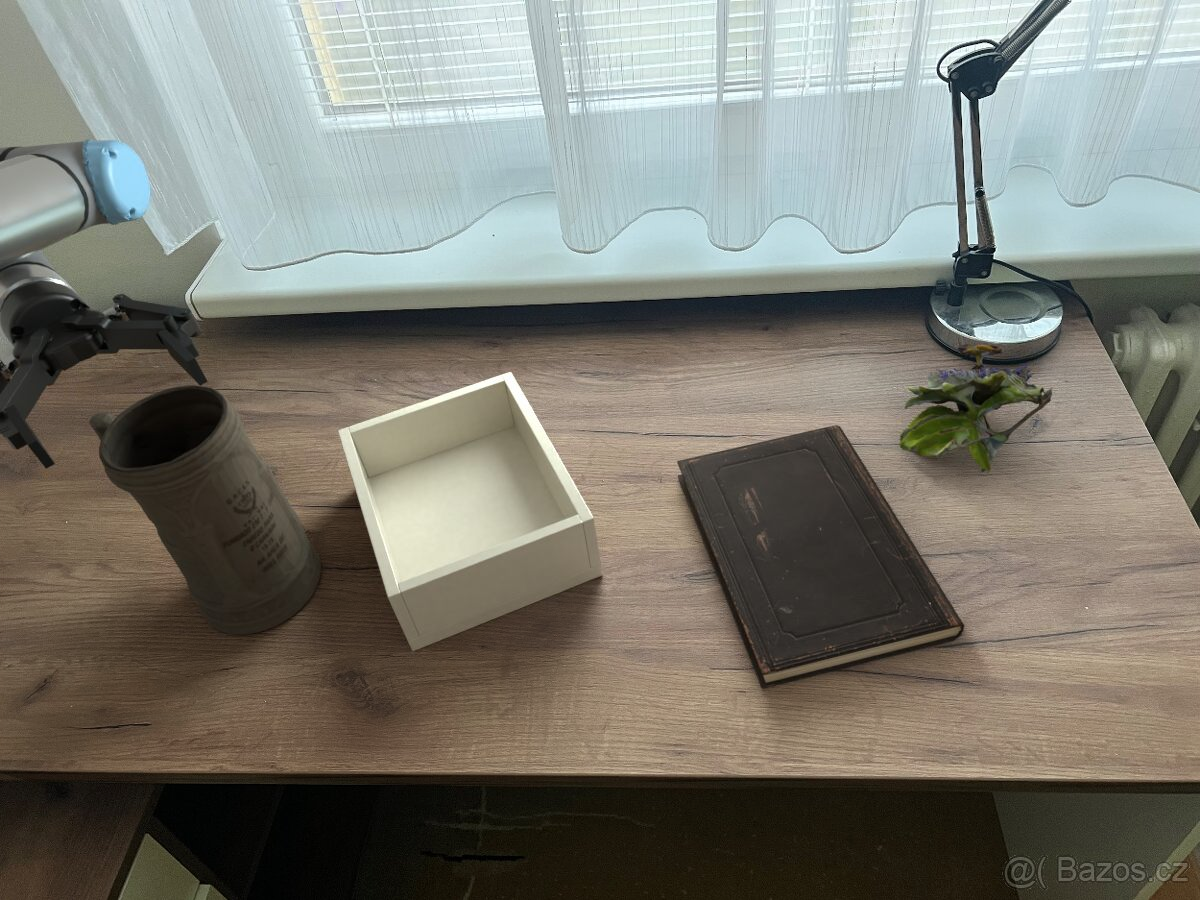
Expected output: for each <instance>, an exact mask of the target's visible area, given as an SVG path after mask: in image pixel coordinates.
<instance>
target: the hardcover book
mask: <svg viewBox="0 0 1200 900" xmlns="http://www.w3.org/2000/svg"><path fill="white" fill-rule="evenodd" d="M676 463H677V465H678V469H679V471H680V474H678V475H677V477H678V481H679V483H680V486H681V489H682V491H683V493H684V495H685V498H686V502H687V503H688V506H689V508H690V511H691V513H692V517H693V518H694V521H695V524H696V525H697V528H698V530H699V533H700V536H701V539H702V541H703V544H704V546H705V548H706V551H707V553H708V557H709V558H710V562H711V564H712V567H713V570H714V571H715V574H716V576H717V579H718V581H719V585H720V586H721V589H722V591H723V594H724V596H725V599H726V602H727V604H728V606H729V609H730V612H731V614H732V617H733V619H734V622H735V625H736V627H737V630H738V632H739V635H740V637H741V639H742V642H743V645H744V647H745V650H746V653H747V655H748V657H749V660H750V662H751V665H752V667H753V670H754V672H755V675H756V678H757V681H758V682H759V685H760V688H761V689H766V688H771V687H775V686H779V685H783V684H786V683H790V682H794V681H798V680H802V679H806V678H810V677H814V676H818V675H823V674H827V673H830V672H835V671H838V670H842V669H846V668H847V669H848V668H850V667H854V666H859V665H862V664H867V663H870V662H875V661H877V660H883V659H886V658H890V657H894V656H898V655H902V654H906V653H910V652H915V651H918V650H922V649H926V648H930V647H933V646H938V645H942V644H946V643H951V642H954V641H955V640H957V639H958V638H960V637H962V634H963V632H964V629H965V624H964V622H963V621H962V619H961V617H960V616H959V615H958V612H957V611H956V610H955V607H953V605H952V603H951V602H950V600H949V599H948V598H949V597H947V595H946V594H945V591H943V590H944V589H942V587H941V586H940V584H939V582H938V581H937V579H936V577H935V576H934V574H933V573H932V571H931V570H930V568H929V566H928V564H927V563H926V562H925V560H924V558H923V557H922V555H921V553H920V552H919V550H918V549H917V547H916V546H915V543H913V541H912V538H911V537H910V536H909V534H908V533H907V531H906V529H905V528H904V526H903V525H902V523H901V522H900V520H899V518H898V517H897V515H896V514H895V512H894V510H893V509H892V507H891V505H890V504H889V502H888V500H887V499H886V498H885V496H884V494H883V492H882V491H881V489H880V488H879V486H878V484H877V483H876V481H875V480H874V478H873V476H872V475H871V473H870V471H869V470H868V469H867V467H866V466H865V464H864V462H863V461H862V459H861V457H860V456H859V454H858V452H857V451H856V450H855V448H854V446H853V444H852V443H851V441H850V440H849V438H848V437H847V435H846V433H845V431H844V429H842V427H841V426H840V425H837V424H834V425H829V426H825V427H821V428H817V429H812V430H808V431H803V432H799V433H794V434H791V435H786V436H781V437H777V438H776V437H775V438H772V439H768V440H764V441H760V442H759V441H758V442H754V443H750V444H746V445H741V446H736V447H733V448H728V449H724V450H719V451H715V452H711V453H707V454H702V455H697V456H693V457H689V458H684V459H680V460H677V461H676Z"/></svg>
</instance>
